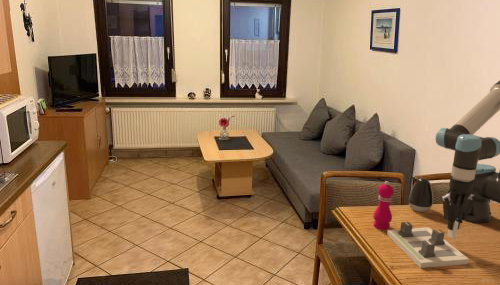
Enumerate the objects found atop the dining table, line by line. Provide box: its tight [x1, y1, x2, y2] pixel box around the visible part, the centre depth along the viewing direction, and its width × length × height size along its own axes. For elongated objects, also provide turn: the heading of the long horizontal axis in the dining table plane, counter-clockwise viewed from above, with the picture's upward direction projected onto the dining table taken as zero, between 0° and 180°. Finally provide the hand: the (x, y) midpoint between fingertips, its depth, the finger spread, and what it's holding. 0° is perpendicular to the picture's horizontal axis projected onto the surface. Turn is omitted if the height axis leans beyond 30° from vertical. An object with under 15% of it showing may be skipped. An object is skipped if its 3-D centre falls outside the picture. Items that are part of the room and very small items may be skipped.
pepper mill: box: [372, 180, 395, 231], centre depth 160 cm, size 7×7×20 cm
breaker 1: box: [398, 221, 414, 237], centre depth 152 cm, size 4×3×5 cm
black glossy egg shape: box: [407, 176, 434, 213], centre depth 177 cm, size 10×10×15 cm
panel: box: [386, 226, 469, 269], centre depth 147 cm, size 18×23×2 cm
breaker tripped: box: [429, 228, 446, 245], centre depth 146 cm, size 4×3×5 cm
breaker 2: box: [419, 240, 436, 257], centre depth 138 cm, size 4×3×5 cm
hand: (451, 237), depth 147 cm, fingers closed
